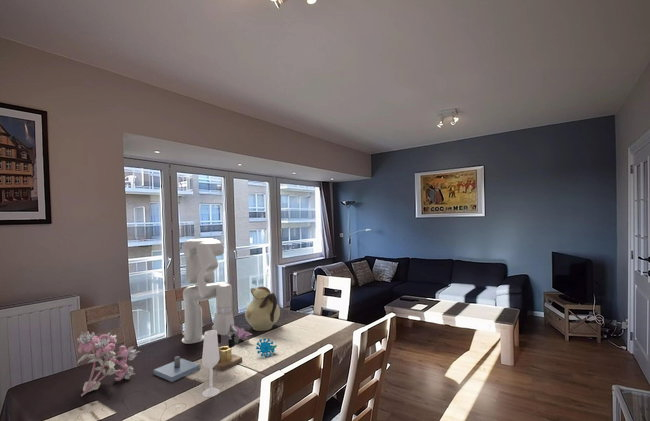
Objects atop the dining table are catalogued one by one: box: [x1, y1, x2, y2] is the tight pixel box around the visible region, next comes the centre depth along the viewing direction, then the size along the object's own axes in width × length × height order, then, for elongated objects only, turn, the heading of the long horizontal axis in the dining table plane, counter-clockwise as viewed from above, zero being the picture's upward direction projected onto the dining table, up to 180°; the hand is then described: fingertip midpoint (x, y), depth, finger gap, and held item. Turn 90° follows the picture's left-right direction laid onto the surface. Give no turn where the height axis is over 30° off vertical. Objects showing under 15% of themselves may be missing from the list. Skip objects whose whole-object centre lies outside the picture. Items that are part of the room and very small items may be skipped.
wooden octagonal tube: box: [218, 345, 232, 362], centre depth 155 cm, size 7×7×5 cm
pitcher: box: [244, 286, 281, 332], centre depth 208 cm, size 22×24×25 cm
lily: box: [234, 325, 253, 345], centre depth 183 cm, size 12×12×10 cm
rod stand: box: [212, 353, 243, 372], centre depth 155 cm, size 12×12×6 cm
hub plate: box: [153, 355, 201, 383], centre depth 147 cm, size 14×14×6 cm
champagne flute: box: [201, 329, 221, 398], centre depth 129 cm, size 7×7×24 cm
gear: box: [255, 337, 278, 358], centre depth 166 cm, size 11×6×10 cm
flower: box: [77, 330, 141, 397], centre depth 136 cm, size 20×22×25 cm
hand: (224, 345), depth 155 cm, fingers open, 9 cm apart
